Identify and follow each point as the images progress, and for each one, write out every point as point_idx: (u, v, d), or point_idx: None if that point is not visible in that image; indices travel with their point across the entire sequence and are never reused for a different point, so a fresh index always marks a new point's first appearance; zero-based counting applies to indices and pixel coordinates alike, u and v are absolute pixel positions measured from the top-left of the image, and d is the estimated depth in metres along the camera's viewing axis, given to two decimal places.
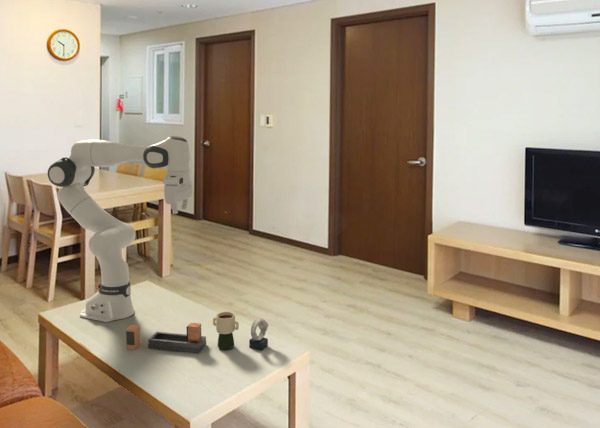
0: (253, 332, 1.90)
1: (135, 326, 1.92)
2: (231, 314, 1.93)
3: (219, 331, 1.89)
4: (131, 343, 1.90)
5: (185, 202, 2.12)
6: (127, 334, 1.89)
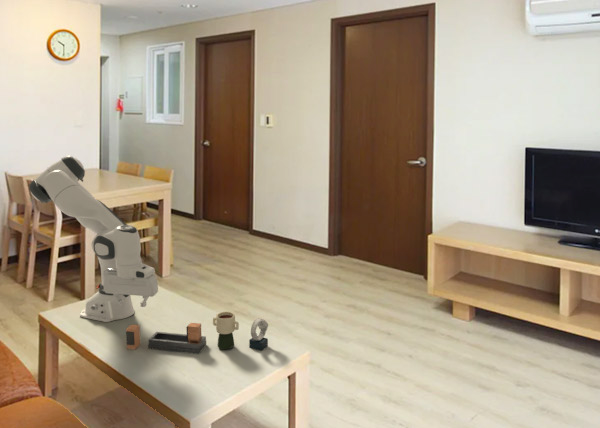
0: (253, 332, 1.90)
1: (135, 326, 1.92)
2: (231, 314, 1.93)
3: (219, 331, 1.89)
4: (131, 343, 1.90)
5: (118, 297, 1.90)
6: (127, 334, 1.89)
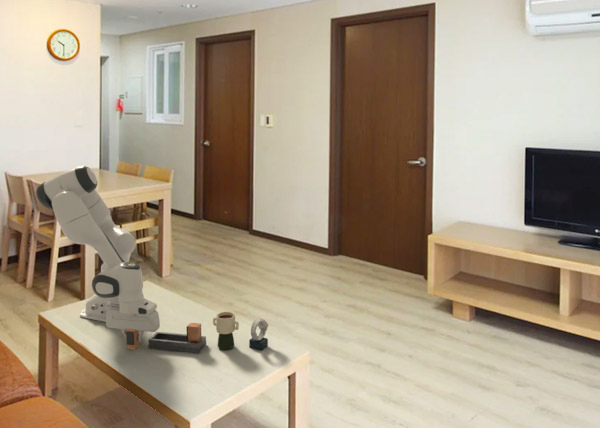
0: (253, 332, 1.90)
1: None
2: (231, 314, 1.93)
3: (219, 331, 1.89)
4: (131, 343, 1.90)
5: None
6: (127, 334, 1.89)
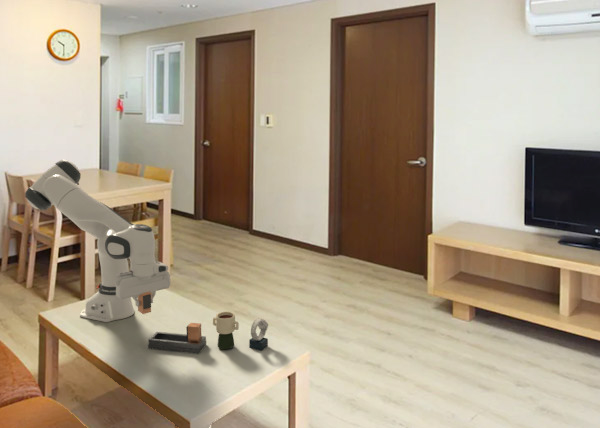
0: (253, 332, 1.90)
1: None
2: (231, 314, 1.93)
3: (219, 331, 1.89)
4: (149, 306, 1.88)
5: None
6: (145, 298, 1.86)
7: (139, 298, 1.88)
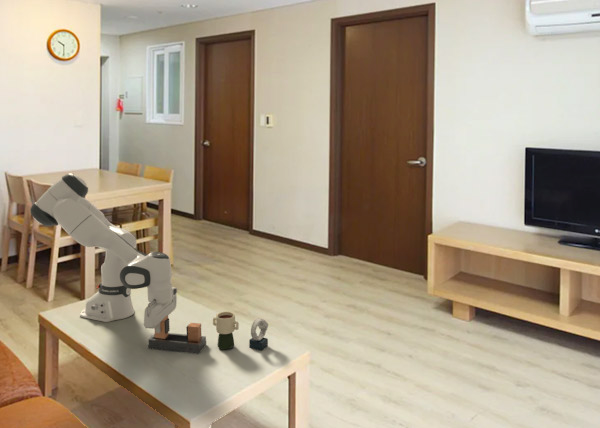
0: (253, 332, 1.90)
1: None
2: (231, 314, 1.93)
3: (219, 331, 1.89)
4: (168, 330, 1.93)
5: None
6: (166, 323, 1.91)
7: None
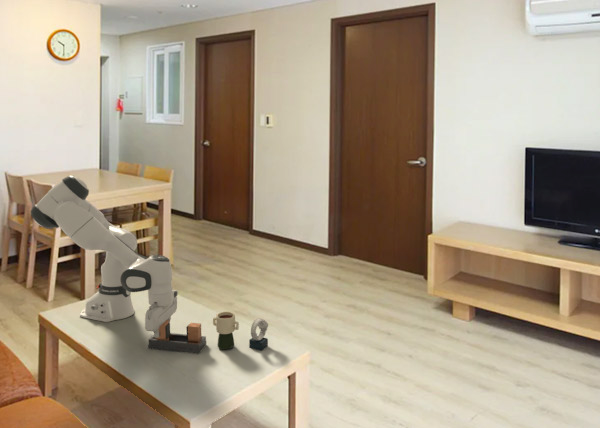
0: (253, 332, 1.90)
1: None
2: (231, 314, 1.93)
3: (219, 331, 1.89)
4: (169, 335, 1.94)
5: None
6: (167, 328, 1.92)
7: (159, 329, 1.92)
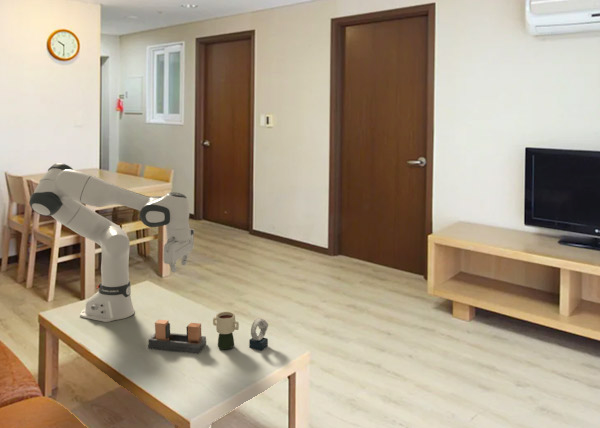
0: (253, 332, 1.90)
1: (160, 320, 1.93)
2: (231, 314, 1.93)
3: (219, 331, 1.89)
4: (169, 335, 1.94)
5: None
6: (167, 328, 1.92)
7: (159, 329, 1.92)
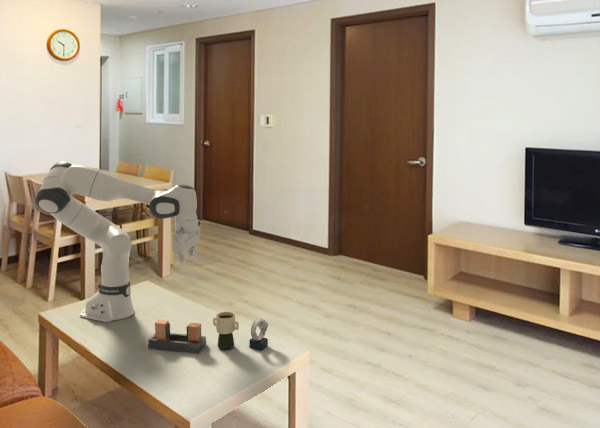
0: (253, 332, 1.90)
1: (160, 320, 1.93)
2: (231, 314, 1.93)
3: (219, 331, 1.89)
4: (169, 335, 1.94)
5: None
6: (167, 328, 1.92)
7: (159, 329, 1.92)
